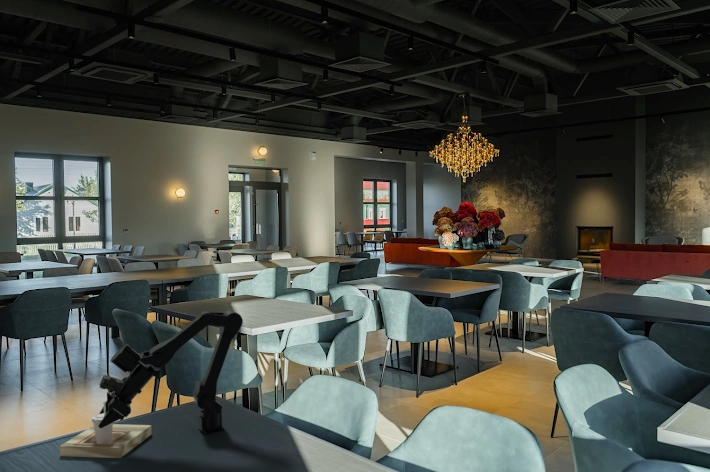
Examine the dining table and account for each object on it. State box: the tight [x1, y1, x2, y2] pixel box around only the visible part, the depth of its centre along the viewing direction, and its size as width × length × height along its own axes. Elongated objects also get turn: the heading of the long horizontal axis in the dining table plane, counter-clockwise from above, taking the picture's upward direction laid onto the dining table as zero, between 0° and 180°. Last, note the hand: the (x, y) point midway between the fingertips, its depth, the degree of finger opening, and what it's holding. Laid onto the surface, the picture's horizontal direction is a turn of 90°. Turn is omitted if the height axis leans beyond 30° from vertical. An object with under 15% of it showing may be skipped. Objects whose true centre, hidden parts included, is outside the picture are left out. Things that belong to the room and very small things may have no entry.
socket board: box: [59, 423, 153, 459], centre depth 181 cm, size 19×19×3 cm
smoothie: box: [91, 401, 114, 444], centre depth 178 cm, size 6×6×14 cm
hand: (98, 422), depth 178 cm, fingers open, 9 cm apart
